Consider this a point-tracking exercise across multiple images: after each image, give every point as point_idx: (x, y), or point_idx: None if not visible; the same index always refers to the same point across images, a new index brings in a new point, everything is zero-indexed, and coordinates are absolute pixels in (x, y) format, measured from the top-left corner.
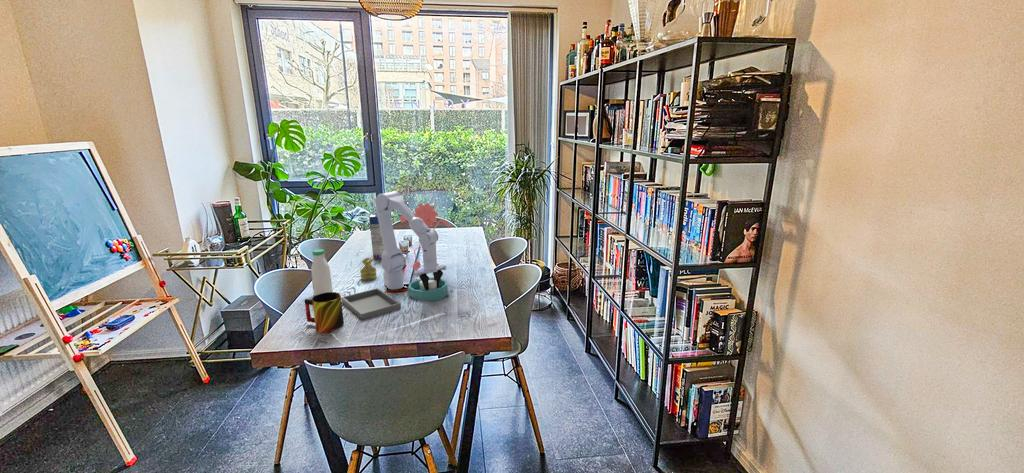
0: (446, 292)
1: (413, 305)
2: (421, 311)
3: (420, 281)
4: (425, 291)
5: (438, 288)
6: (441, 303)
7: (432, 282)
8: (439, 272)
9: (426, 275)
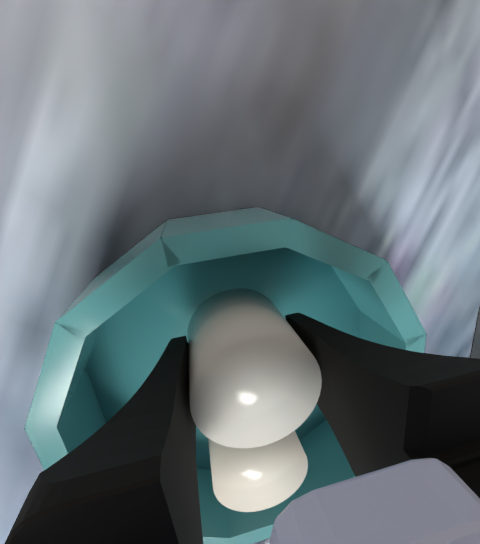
0: (103, 273)
1: (410, 208)
2: (431, 47)
3: (294, 484)
4: (361, 249)
5: (205, 257)
6: (223, 105)
7: (259, 363)
8: (115, 534)
9: (428, 456)
